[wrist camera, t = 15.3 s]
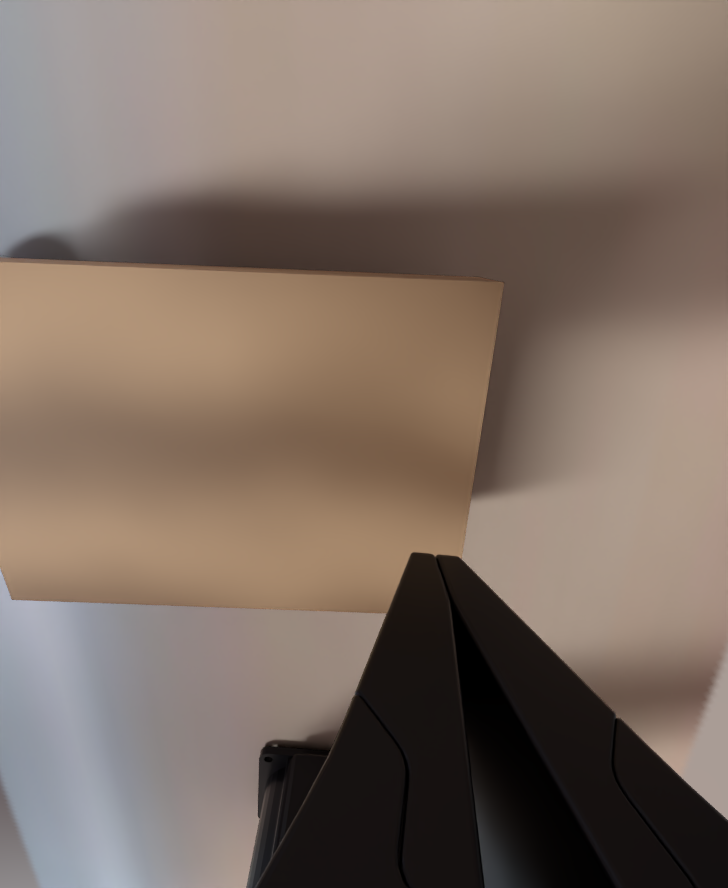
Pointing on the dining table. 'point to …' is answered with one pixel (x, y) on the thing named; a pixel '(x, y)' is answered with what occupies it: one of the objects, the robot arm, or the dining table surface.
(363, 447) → the slab
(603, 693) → the dining table surface
